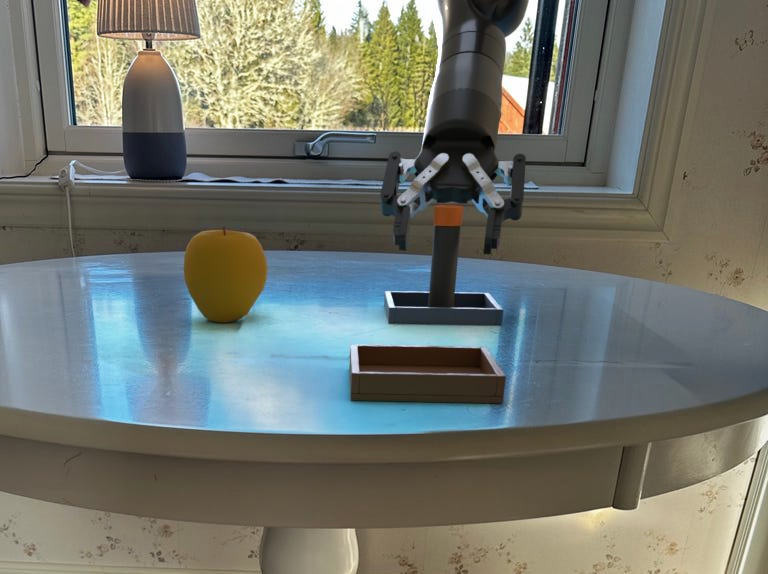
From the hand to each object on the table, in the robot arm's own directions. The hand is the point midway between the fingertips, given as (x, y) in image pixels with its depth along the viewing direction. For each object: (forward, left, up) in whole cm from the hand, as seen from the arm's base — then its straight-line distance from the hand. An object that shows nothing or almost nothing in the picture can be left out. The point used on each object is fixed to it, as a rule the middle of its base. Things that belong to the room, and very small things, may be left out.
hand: (444, 247), depth 95 cm
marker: (0, -1, -7) cm, 7 cm away
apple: (+22, +1, -7) cm, 23 cm away
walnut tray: (+4, +27, -7) cm, 28 cm away
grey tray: (0, -1, -7) cm, 7 cm away
